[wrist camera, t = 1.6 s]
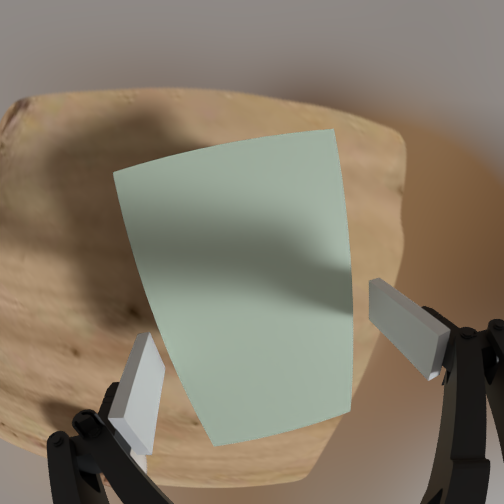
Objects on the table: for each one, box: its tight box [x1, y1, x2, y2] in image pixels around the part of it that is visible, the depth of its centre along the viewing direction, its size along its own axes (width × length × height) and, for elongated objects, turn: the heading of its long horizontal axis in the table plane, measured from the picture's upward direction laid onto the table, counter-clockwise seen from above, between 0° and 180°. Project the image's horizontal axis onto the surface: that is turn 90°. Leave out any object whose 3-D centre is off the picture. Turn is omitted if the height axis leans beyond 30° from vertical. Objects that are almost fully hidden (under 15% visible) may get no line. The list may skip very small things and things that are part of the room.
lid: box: [113, 129, 353, 446], centre depth 17 cm, size 20×11×4 cm, turn 10°
